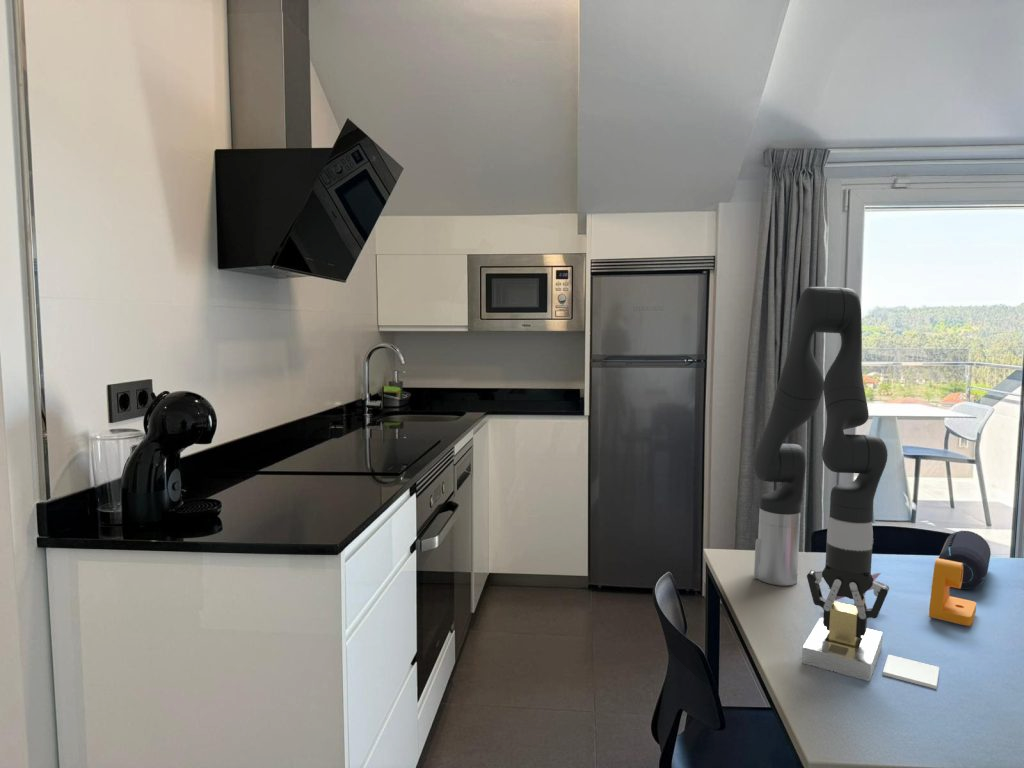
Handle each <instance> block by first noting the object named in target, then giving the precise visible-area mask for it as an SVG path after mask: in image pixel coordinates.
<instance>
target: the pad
mask: <svg viewBox="0 0 1024 768" xmlns="http://www.w3.org/2000/svg"><path fill="white" fill-rule="evenodd" d="M939 674H940V666H936V665H932V664H928V663H923V662H920V661H916V660H913V659H908V658H905V657H900V656H896V655H891V654H889V653H888V655H887V657H886V661H885V664H884V667H883V671H882V676H885V677H889V678H892V679H897V680H901V681H904V682H909V683H912V684H915V685H920V686H923V687H926V688H931V689H934V690H937V687H938V683H939V682H938V680H939Z"/></svg>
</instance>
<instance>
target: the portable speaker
mask: <svg viewBox="0 0 1024 768" xmlns="http://www.w3.org/2000/svg"><path fill="white" fill-rule="evenodd" d="M991 555H992V554H991V547H990V545H989V543H988V541H987V540H986V539H985V538H983V536H981V535H980V534H979V533H976V532H973V531H969V530H958V531H955V532H953V533H951V534H949V536H947V538H946V540H945V542H944V544H943V546H942V548H941V551H940V553H939V557H938V558H940V559H945V560H950V561H955V562H960V563H963V579H962V585H961V588H960V589H962V590H972V589H975V588H978V587H979V586H981V585H982V584H983V583H984V582H985V581H986V578H987V574H988V571H989V565H990V559H991Z"/></svg>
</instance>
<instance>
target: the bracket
mask: <svg viewBox="0 0 1024 768" xmlns="http://www.w3.org/2000/svg"><path fill="white" fill-rule="evenodd" d="M962 579H963V563H960V562H955V561H950V560H945V559H940V558H939V557H936V558H935V561H934V566H933V576H932V583H931V591H930V600H929V608H928V609H929V610H928V617H929V618H934V619H938V620H942V621H946V622H951V623H953V624H957V625H958V624H959V625H961V626H962V625H963V626H969V627H972V626H973V624H974V621H975V618H976V613H977V602H976V601H973V600H970V599H964V598H960V597H956V596H951V595H950V588H955V589H961V585H962Z"/></svg>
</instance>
